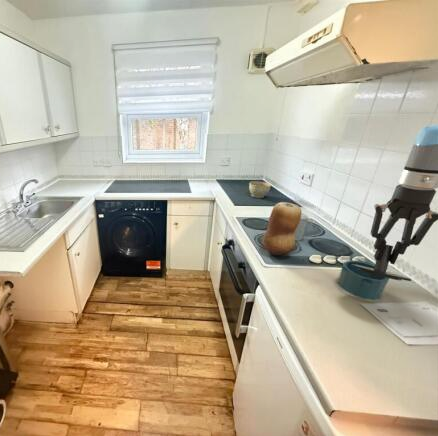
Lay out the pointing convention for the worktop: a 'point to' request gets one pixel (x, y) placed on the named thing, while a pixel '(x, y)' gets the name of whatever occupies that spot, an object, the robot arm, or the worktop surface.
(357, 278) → the pot
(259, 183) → the planter bowl
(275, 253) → the butternut squash
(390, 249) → the lid
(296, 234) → the clear glass cylinder
